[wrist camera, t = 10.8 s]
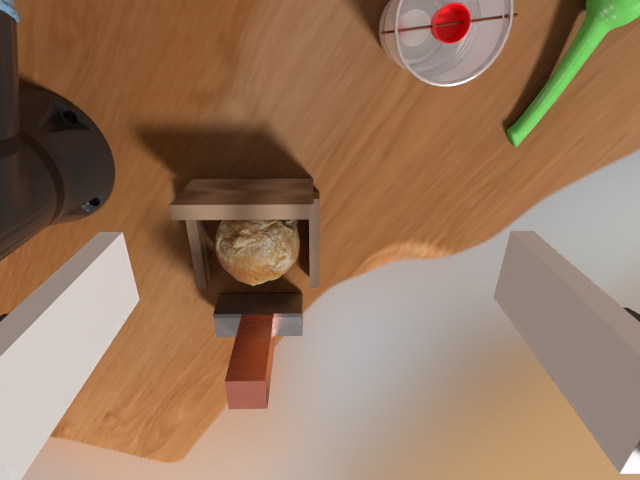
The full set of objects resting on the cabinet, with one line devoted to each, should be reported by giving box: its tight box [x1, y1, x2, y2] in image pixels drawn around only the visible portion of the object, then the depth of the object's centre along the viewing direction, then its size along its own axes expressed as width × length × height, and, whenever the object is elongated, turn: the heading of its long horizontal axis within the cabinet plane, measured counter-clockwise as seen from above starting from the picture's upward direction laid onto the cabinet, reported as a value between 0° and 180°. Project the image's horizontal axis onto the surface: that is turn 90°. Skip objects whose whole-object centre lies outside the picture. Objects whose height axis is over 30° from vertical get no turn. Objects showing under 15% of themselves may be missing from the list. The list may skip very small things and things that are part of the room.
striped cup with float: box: [379, 0, 518, 87], centre depth 33 cm, size 10×8×12 cm
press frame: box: [170, 179, 320, 289], centre depth 44 cm, size 15×14×8 cm
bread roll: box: [215, 219, 300, 286], centre depth 45 cm, size 10×10×8 cm
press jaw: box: [213, 293, 303, 409], centre depth 46 cm, size 11×4×15 cm, turn 90°
